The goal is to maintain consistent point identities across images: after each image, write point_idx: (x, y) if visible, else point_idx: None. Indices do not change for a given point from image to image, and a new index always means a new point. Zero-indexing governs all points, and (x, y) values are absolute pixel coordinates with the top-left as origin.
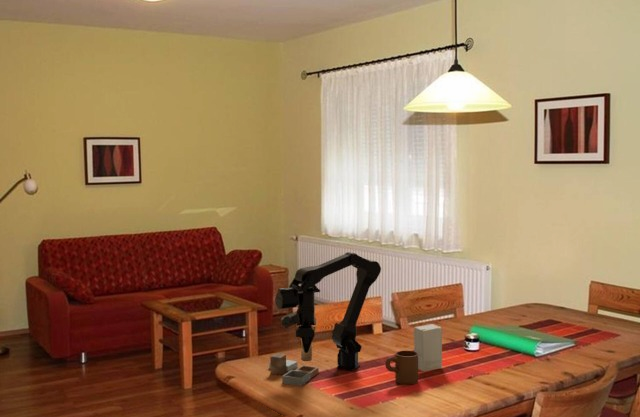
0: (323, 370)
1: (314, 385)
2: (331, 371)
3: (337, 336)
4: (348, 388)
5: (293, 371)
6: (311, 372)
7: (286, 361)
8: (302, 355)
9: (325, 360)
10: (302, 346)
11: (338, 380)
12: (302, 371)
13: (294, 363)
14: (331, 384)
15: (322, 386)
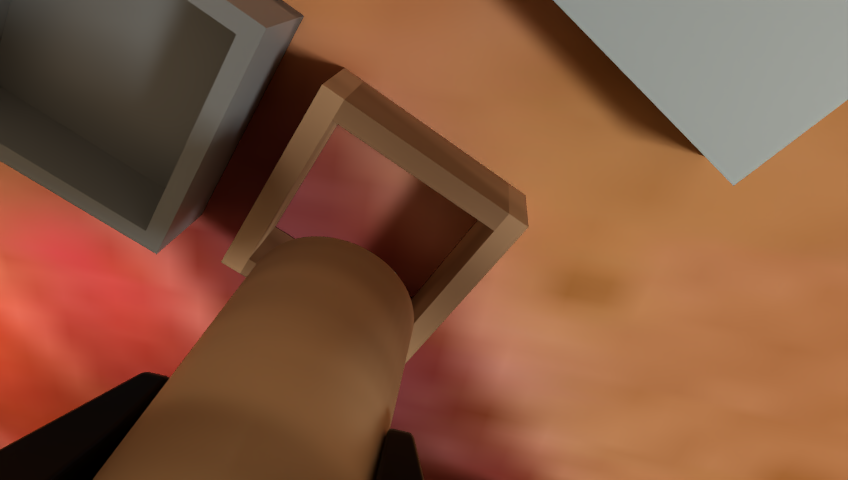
0: (484, 384)
1: (38, 216)
2: (436, 432)
3: None
4: (14, 429)
5: (237, 47)
6: (231, 265)
7: (840, 6)
8: (241, 297)
9: (811, 472)
10: (129, 441)
11: None
12: (189, 169)
13: (678, 128)
14: (86, 351)
15: (24, 276)
